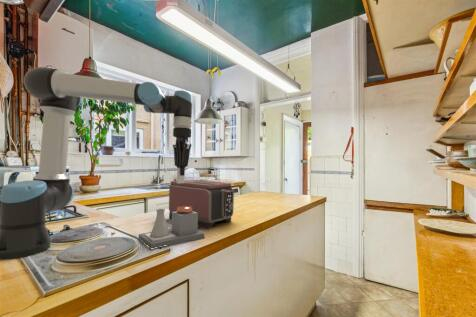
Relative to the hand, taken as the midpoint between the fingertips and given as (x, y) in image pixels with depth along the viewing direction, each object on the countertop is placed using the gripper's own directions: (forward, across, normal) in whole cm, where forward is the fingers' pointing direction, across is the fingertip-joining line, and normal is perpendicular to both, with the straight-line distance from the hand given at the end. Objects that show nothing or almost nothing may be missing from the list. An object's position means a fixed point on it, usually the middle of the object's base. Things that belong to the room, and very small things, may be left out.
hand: (180, 183), depth 101 cm
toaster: (+23, +16, -21) cm, 35 cm away
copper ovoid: (+19, -2, -2) cm, 19 cm away
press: (+22, -2, +4) cm, 23 cm away
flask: (+20, -2, +9) cm, 22 cm away
